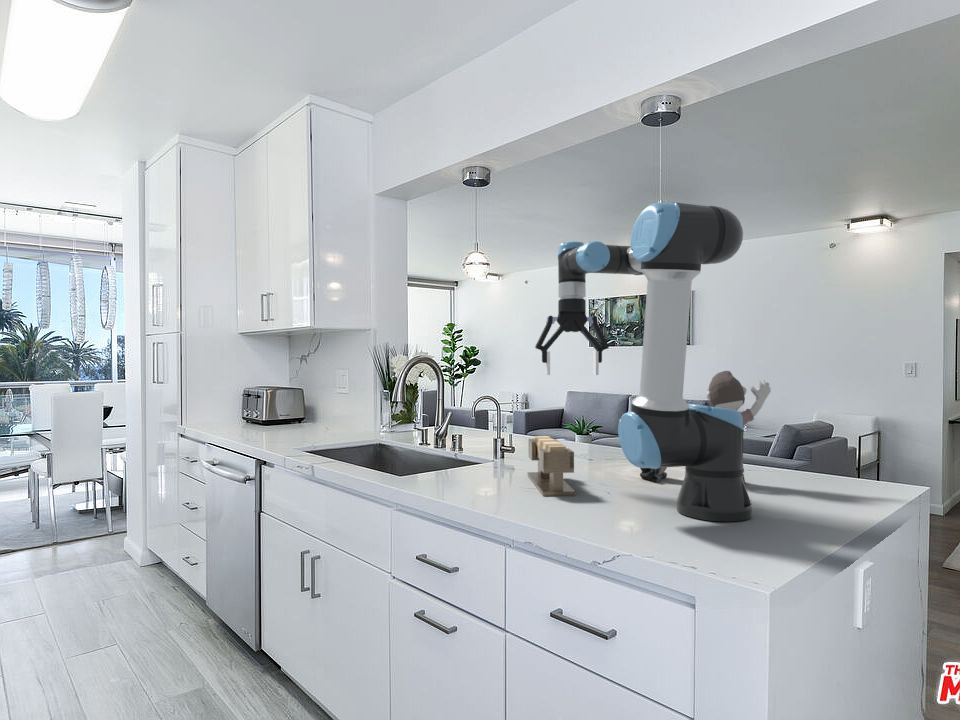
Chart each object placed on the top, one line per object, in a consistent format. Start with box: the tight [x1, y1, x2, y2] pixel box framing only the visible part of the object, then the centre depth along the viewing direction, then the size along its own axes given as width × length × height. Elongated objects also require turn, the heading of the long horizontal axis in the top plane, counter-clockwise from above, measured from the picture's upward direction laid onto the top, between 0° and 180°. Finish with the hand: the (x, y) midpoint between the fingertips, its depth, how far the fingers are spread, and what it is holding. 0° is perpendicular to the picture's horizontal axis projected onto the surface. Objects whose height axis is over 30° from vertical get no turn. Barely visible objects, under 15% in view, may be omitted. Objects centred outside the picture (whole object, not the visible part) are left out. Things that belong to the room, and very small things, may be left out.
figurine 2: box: [705, 370, 772, 485], centre depth 163 cm, size 18×9×30 cm, turn 84°
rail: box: [533, 435, 567, 458], centre depth 160 cm, size 20×4×5 cm, turn 6°
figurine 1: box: [639, 467, 668, 482], centre depth 167 cm, size 10×10×15 cm
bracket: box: [526, 438, 576, 497], centre depth 160 cm, size 25×8×10 cm, turn 4°
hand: (571, 374), depth 169 cm, fingers open, 13 cm apart
